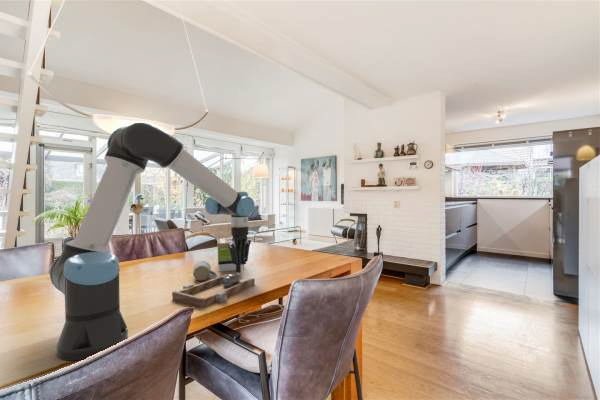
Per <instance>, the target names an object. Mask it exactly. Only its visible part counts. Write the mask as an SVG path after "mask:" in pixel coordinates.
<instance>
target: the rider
mask: <svg viewBox="0 0 600 400" xmlns="http://www.w3.org/2000/svg"><path fill="white" fill-rule="evenodd" d="M228 274H229V275H226V274H225V275H226V276H223V275H222V276H223V282H222V287H223V288H224V289H227V288H230V287H232V286H235V285H237V284H240V283H241V280H240V276H239V275H237V273H236V274H234V273H228Z"/></svg>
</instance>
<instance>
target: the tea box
mask: <svg viewBox="0 0 600 400" xmlns="http://www.w3.org/2000/svg"><path fill="white" fill-rule="evenodd" d="M232 239H233V237H225V238H217V239H216V240H217V242H216V244H217V245H216V247H217V266H218V267H217V268H218V272H230V271H236V265H235V264H233V263H232V258H231V253H230V248H229V246H228V244H229V243H231V242H232Z"/></svg>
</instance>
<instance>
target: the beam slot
mask: <svg viewBox="0 0 600 400" xmlns="http://www.w3.org/2000/svg"><path fill="white" fill-rule="evenodd" d="M229 274H230V273H226V274H224V275H220V276H217V278H215V279H212V278H211V279H209V280H205V281H204V282H203V281H202V282H201V283H199V284H195V285H194V284H192V283H187V284H185V285H182V289H180V290H178V291H177V290H175V291H172V293H171V294H172V295H171V296H172V301H176V302H179V303H183V304H186V305H189V306H193V305H194V306H193V307H196V306H197V307H196V308H200V307H201V308H202V307H203V308H205V307H207V306H209V305H211V303H212V304H214V303H216V302H217V303H223V302H225V301H227V299H228V298H227V297H230V296H231V295H234V294H236V293H239V292H240V291H243V290H246V289H247V288H250V287H252V286H255V278H250V279H247V280H245V281H242V282H240V284H237V285H235V286H232V287H230V288H224V289H223V290H220V291H218V292H215V293H213V294H211V295H208V296H206V297H200V296H197V295H194V294H195V293H198V292H201V291H203V290H206V289H208V288H209V289H210V288H211V287H214V286H217V285H219V284H223V276H226V275H229ZM203 308H202V309H203Z"/></svg>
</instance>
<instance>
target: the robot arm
mask: <svg viewBox="0 0 600 400" xmlns="http://www.w3.org/2000/svg"><path fill="white" fill-rule="evenodd" d="M184 147H185V146H184V144H183V143H182V142H180V141H179V140H178V139H177V138H176V137H175V136H173V135H172V134H171V133H169V132H167V131H166V130H165V129H163V128H162V127H160V126H158V125H156V124H154V123H151V122H148V121H135V122H133V123H130V124H128V125H125V126H121V127H119V128H117V129H116V130H114V131H113V132H112V133H110V136H109V138H108V139H107V150H106V152H105V155H104V160H105V162H106V164H107V165H106V167H105V170H104V172H103V174H102V176H101V179H100V181H99V182H98V186H97V187H96V190H95V193H94V195H93V197H92V199H91V201H90V203H89V206H88V208H87V210H86V213H85V215H84V218H83V220H82V221H81V224H80V226H79V229H78V231H77V234H76V235H75V237H74V239H72V240H69V241H68V242H66V243H65V245H64V247H63V249H62V250H61V251H62V252H61V254H60V255H59V256H58V257H56V259H55V260H54V261H53V263H52V264H51V266H50V270H49V277H50V282H51V284H52V285H53V286H54V288H56V289H57V290H58V291H59V292H61V293H62V294H63V295H64V313H65V318H64V319H65V322H64V324H63V326H62V330H61V333H60V336H59V338H58V341H57V345H56V355H57V357H58V358H59V359H61V360H63V361H83V360H86V359H85V358H87V357H89V356H92V355H94V354H96V353H98V352H100V351H103V350H105V349H107V348H109V347H111V346H113V345H116V344H117V343H119V342H121V341H123V340H125V339H127V340H128V338H129V332H128V331H129V330H128V326H127V324H126V321H125V319H124V317H123V315H122V312H121V309H120V307H121V306H120V302H121V301H120V298H121V297H120V269H121V267H120V262H119V258H118V257H117V256H116V254H114V253H112V251H111V249H110V247H109V245H110V242H111V239H112V237H113V234H114V233H115V230H116V227H117V225H118V222H119V220H120V218H121V216H122V212H123V210H124V207H125V205H126V203H127V200H128V198H129V195H130V193H131V191H132V188H133V185H134V184H135V181H136V178H137V176H138V175H140V174H143V173H144V172H145V169H147V168H146V167H147V165H148V162H149V161H150V162H154V163H155V164H157V165H159V166H160V167H162V168H164V169H165V168H168V169H170V170H171V171H173V172H174V173H175V174H177V175H179V176H180V177H182V178H183V179H184V180H185V181H187V182H188V183H190V184H191V185H192V186H194V187H195V188H197V189H199V190H200V192H202V193H204V194H206V195H207V196H208V197H207V198H206V200H205V201H204V202H205V203H204V208H205V211H206V213H207V214H208V215H212V216H213V215H226V216H230V225H231V227H230V231H231V233H230V236H232V238H233V239H232V242H231V243H229V244H228V246H229V248H230V253H231V258H232V263H233V264H235V265H236V270H235V272H236V275H239V276H240V281H242V280H245V277H244V276H245V274H244V272H245V265H246V264H247V262H248V260H249V259H248V258H249V253H250V245H251V243H252V240H251V239H249V238H248V235H249V226H248V225H249V216H251V214H253V212H254V210H255V208H256V207H255V201H254V199H253V198H252V197H250V196H249V193H248V192H247V191H237V190H235V188H233V187H232V186H230V185H229V184H228V183H226V182H225V181H224V180H223V179H222V178H220V177H219V176H218V175H217V174H216V173H214V172H213V171H212V170H210V168H208V167H207V166H205V165H204V164H203V163H201V161H199V160H198V159H197V158H195V156H193V155H191V153H189V152H188V151H187V150H185V148H184Z"/></svg>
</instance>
